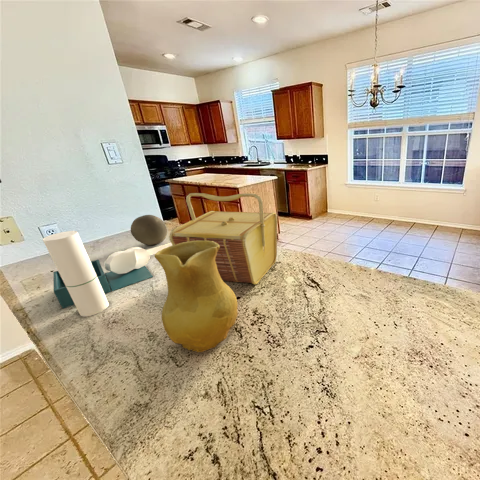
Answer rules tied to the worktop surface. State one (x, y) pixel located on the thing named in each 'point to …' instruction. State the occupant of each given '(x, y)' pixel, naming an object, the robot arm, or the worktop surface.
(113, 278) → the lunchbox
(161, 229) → the cantaloupe
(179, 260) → the pitcher
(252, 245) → the picnic basket
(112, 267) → the white long scooped piece
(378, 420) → the worktop surface
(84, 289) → the cylindrical container
